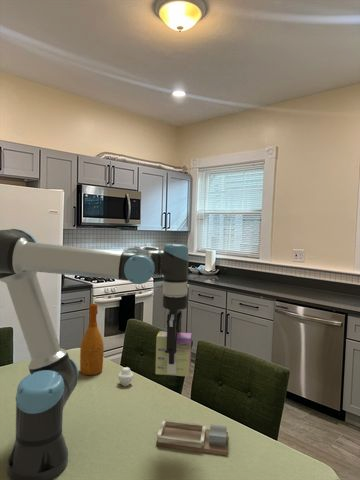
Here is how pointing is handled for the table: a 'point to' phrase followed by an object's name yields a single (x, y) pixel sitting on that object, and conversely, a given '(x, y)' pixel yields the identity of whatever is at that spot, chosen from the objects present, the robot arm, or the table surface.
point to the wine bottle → (92, 347)
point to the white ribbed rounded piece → (125, 376)
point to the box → (182, 354)
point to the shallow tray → (193, 437)
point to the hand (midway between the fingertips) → (173, 369)
